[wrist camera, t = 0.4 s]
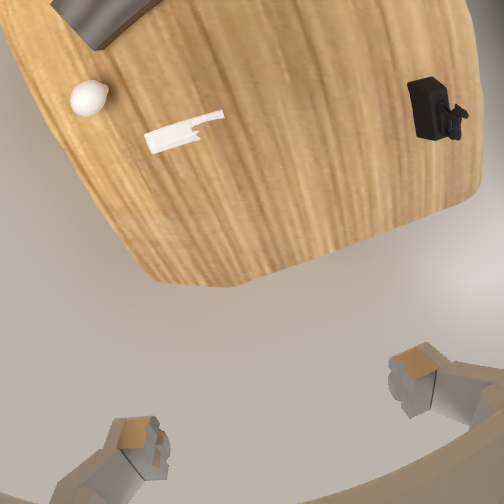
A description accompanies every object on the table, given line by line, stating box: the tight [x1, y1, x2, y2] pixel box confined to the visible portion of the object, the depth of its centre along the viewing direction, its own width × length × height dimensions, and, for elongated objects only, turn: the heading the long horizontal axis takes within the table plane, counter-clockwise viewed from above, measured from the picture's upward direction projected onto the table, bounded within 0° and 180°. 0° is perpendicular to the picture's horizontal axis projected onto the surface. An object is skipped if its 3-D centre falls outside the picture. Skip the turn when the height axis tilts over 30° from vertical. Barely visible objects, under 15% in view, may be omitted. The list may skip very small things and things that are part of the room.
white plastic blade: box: [144, 109, 224, 154], centre depth 53 cm, size 5×15×1 cm, turn 103°
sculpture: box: [407, 77, 469, 141], centre depth 47 cm, size 8×13×15 cm, turn 20°
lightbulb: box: [70, 80, 109, 116], centre depth 41 cm, size 6×6×11 cm
